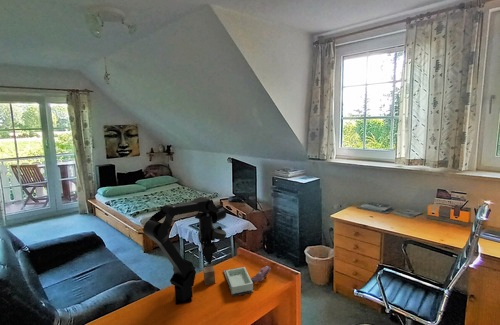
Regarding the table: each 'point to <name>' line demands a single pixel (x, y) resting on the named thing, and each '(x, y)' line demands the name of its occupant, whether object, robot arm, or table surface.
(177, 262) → the robot arm
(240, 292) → the track
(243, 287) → the pale green tray
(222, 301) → the table surface
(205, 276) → the walnut block
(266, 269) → the sweet potato
